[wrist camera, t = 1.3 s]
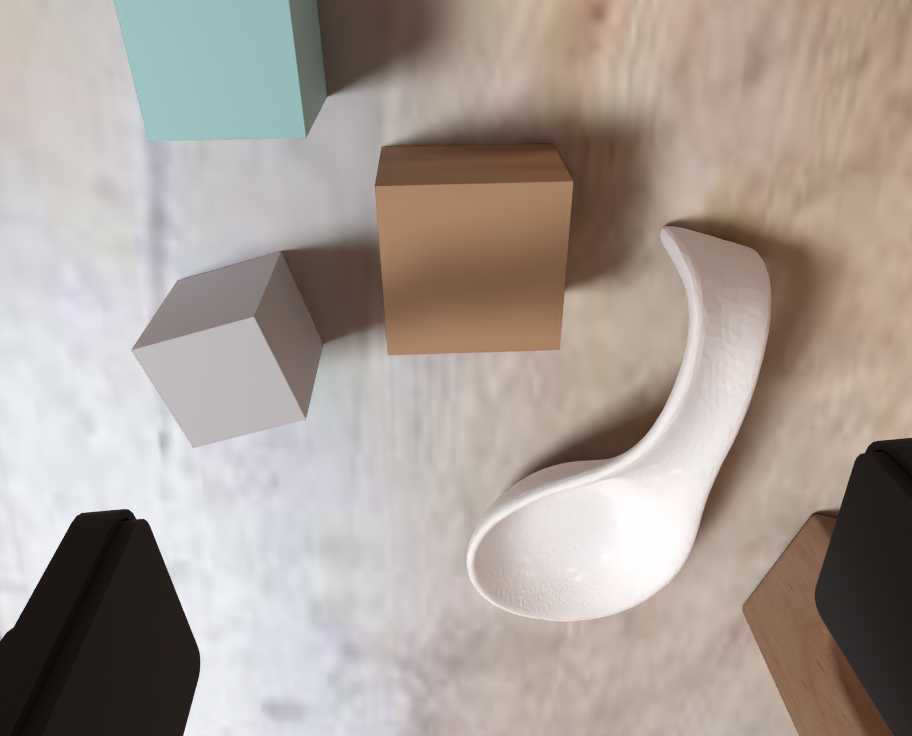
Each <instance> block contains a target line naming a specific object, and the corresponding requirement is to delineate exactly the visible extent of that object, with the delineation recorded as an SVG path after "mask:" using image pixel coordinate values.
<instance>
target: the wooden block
mask: <svg viewBox="0 0 912 736" xmlns="http://www.w3.org/2000/svg"><path fill="white" fill-rule="evenodd" d="M836 520H837V518H835V517H830V516H825V515H820V514H815V515H812V516H811V517H810V518H809V519H808V521H807V522H806V523H805V525H804V526H803V527H802V529H801V530H800V531H799V532H798V534H797V535H796V536H795V538H794V539H793V540H792V542H791V543H790V544H789V546H788V547H787V548H786V550H785V551H784V552H783V554H782V555H781V556H780V558H779V559H778V560H777V562H776V563H775V564H774V566H773V567H772V568H771V570H770V571H769V572H768V574H767V575H766V576H765V578H764V579H763V580H762V581H761V583H760V584H759V585H758V587H757V588H756V589H755V591H754V592H753V593H752V595H751V596H750V597H749V599H748V600H747V601H746V603H745V604H744V605H743V613H744V615H745V618H746V620H747V622H748V624H749V626H750V629H751V631H752V633H753V635H754V637H755V640H756V642H757V644H758V646H759V648H760V651H761V653H762V655H763V657H764V659H765V662H766V664H767V666H768V668H769V670H770V673H771V675H772V677H773V679H774V681H775V684H776V686H777V688H778V690H779V692H780V695H781V697H782V699H783V701H784V703H785V706H786V708H787V710H788V712H789V714H790V717H791V719H792V721H793V723H794V725H795V728H796V730H797V732H798V734H799V736H894V735H893V734H892V732H891V730H890V729H889V727H888V726H887V724H886V722H885V721H884V719H883V718H882V716H881V714H880V713H879V711H878V709H877V708H876V706H875V705H874V703H873V701H872V700H871V698H870V696H869V695H868V693H867V692H866V690H865V688H864V687H863V685H862V684H861V682H860V680H859V679H858V677H857V675H856V674H855V672H854V671H853V669H852V667H851V666H850V664H849V662H848V661H847V659H846V658H845V656H844V654H843V653H842V651H841V650H840V648H839V646H838V645H837V643H836V641H835V640H834V638H833V637H832V635H831V633H830V632H829V630H828V628H827V627H826V625H825V624H824V622H823V620H822V619H821V617H820V615H819V613H818V610H817V607H816V603H815V587H816V584H817V581H818V578H819V575H820V571H821V568H822V565H823V562H824V559H825V555H826V552H827V549H828V546H829V543H830V539H831V536H832V533H833V530H834V527H835V524H836Z"/></svg>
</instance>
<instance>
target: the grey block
mask: <svg viewBox="0 0 912 736" xmlns="http://www.w3.org/2000/svg"><path fill="white" fill-rule="evenodd" d="M322 347H323V342H322V340H321V338H320V335H319V333H318V331H317V329H316V327H315V324H314V322H313V320H312V318H311V315H310V313H309V311H308V309H307V307H306V304H305V302H304V300H303V298H302V296H301V293H300V291H299V289H298V287H297V285H296V282H295V280H294V278H293V276H292V274H291V271H290V269H289V267H288V265H287V263H286V260H285V258H284V256H283V254H282V251H279V252H276V253H272V254H269V255H265V256H262V257H258V258H255V259H251V260H248V261H244V262H241V263H237V264H234V265H230V266H226V267H223V268H219V269H216V270H212V271H209V272H205V273H202V274H198V275H195V276H191V277H188V278H184V279H181V280H177V282H176V283H175V285H174V286H173V288H172V289H171V291H170V292H169V294H168V295H167V297H166V299H165V300H164V302H163V303H162V305H161V306H160V308H159V309H158V311H157V312H156V314H155V315H154V317H153V318H152V320H151V321H150V323H149V324H148V326H147V327H146V329H145V330H144V332H143V333H142V335H141V336H140V338H139V339H138V341H137V342H136V344H135V345H134V347H133V348H132V350H131V351H132V352H133V354H134V355H135V357H136V359H137V360H138V362H139V363H140V365H141V366H142V368H143V370H144V371H145V373H146V374H147V376H148V377H149V379H150V381H151V382H152V384H153V385H154V387H155V388H156V390H157V392H158V393H159V395H160V396H161V398H162V399H163V401H164V403H165V404H166V406H167V407H168V409H169V410H170V412H171V413H172V415H173V417H174V418H175V420H176V421H177V423H178V424H179V426H180V428H181V429H182V431H183V432H184V434H185V435H186V437H187V439H188V440H189V442H190V443H191V445H192V446H193V448H195V447H199V446H203V445H207V444H211V443H215V442H218V441H222V440H226V439H230V438H234V437H238V436H242V435H246V434H250V433H254V432H258V431H262V430H266V429H270V428H274V427H278V426H282V425H286V424H290V423H293V422H297V421H301V420H305V419H306V416H307V412H308V408H309V403H310V399H311V395H312V390H313V386H314V382H315V377H316V373H317V369H318V364H319V360H320V356H321V351H322Z"/></svg>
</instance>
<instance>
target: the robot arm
mask: <svg viewBox="0 0 912 736" xmlns="http://www.w3.org/2000/svg"><path fill="white" fill-rule="evenodd" d="M815 603H816V607H817V610H818V613H819V615H820V617H821V619H822V620H823V622H824V624H825V625H826V627H827V628H828V630H829V632H830V633H831V635H832V637H833V638H834V640H835V641H836V643H837V645H838V646H839V648H840V650H841V651H842V653H843V654H844V656H845V658H846V659H847V661H848V662H849V664H850V666H851V667H852V669H853V671H854V672H855V674H856V675H857V677H858V679H859V680H860V682H861V684H862V685H863V687H864V688H865V690H866V692H867V693H868V695H869V696H870V698H871V700H872V701H873V703H874V705H875V706H876V708H877V709H878V711H879V713H880V714H881V716H882V718H883V719H884V721H885V722H886V724H887V726H888V727H889V729H890V730H891V732H892V734H893V735H894V736H912V438H906V439H895V440H884V441H876V442H873V443H872V444H871V445H869V446H868V448H867V450H866V452H865V453H864V454H860V455H859V456H858V457H857V458H856V461H855V463H854V466H853V469H852V472H851V476H850V479H849V482H848V485H847V488H846V492H845V495H844V498H843V501H842V504H841V508H840V511H839V514H838V517H837V520H836V524H835V527H834V530H833V533H832V536H831V539H830V543H829V546H828V549H827V552H826V555H825V559H824V562H823V565H822V568H821V571H820V575H819V578H818V581H817V584H816V587H815ZM199 673H200V654H199V649H198V646H197V644H196V641H195V639H194V636H193V634H192V631H191V629H190V626H189V624H188V621H187V618H186V616H185V613H184V611H183V608H182V606H181V603H180V601H179V598H178V596H177V593H176V591H175V588H174V586H173V583H172V581H171V578H170V576H169V573H168V571H167V568H166V566H165V563H164V560H163V558H162V555H161V553H160V550H159V548H158V545H157V543H156V540H155V538H154V535H153V533H152V530H151V528H150V525H149V524H148V522H147V521H146V520H145V519H137V520H136V518H135V516H134V514H133V513H132V512H131V511H130V510H127V509H121V510H110V511H99V512H88V513H81V514H80V515H78V516H76V518H75V519H74V520H73V522H72V523H71V525H70V527H69V529H68V530H67V532H66V534H65V536H64V538H63V539H62V541H61V543H60V545H59V547H58V549H57V550H56V552H55V554H54V556H53V558H52V559H51V561H50V563H49V565H48V567H47V568H46V570H45V572H44V574H43V576H42V577H41V579H40V581H39V583H38V585H37V586H36V588H35V590H34V592H33V594H32V595H31V597H30V599H29V601H28V603H27V604H26V606H25V608H24V610H23V612H22V613H21V615H20V617H19V619H18V621H17V622H16V624H15V626H14V628H12V629H11V630H10V631H8V632H7V633H6V634H5V636H4V637H3V638H2V640H1V641H0V736H183V734H184V730H185V727H186V723H187V719H188V715H189V712H190V708H191V704H192V701H193V697H194V693H195V689H196V686H197V682H198V678H199Z"/></svg>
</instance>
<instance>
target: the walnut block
mask: <svg viewBox="0 0 912 736" xmlns="http://www.w3.org/2000/svg"><path fill="white" fill-rule="evenodd" d="M572 193H573V180H572V178H571V176H570V174H569V172H568V171H567V169H566V167H565V165H564V163H563V162H562V160H561V158H560V156H559V154H558V152H557V151H556V149H555V147H554V145H553V143H534V144H490V145H445V146H401V147H382V148H381V154H380V159H379V165H378V171H377V177H376V182H375V195H376V208H377V221H378V234H379V247H380V260H381V273H382V286H383V299H384V312H385V325H386V338H387V351H388V355H407V354H440V353H473V352H506V351H538V350H560V339H561V327H562V315H563V303H564V291H565V278H566V266H567V254H568V242H569V229H570V217H571V205H572Z"/></svg>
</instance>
